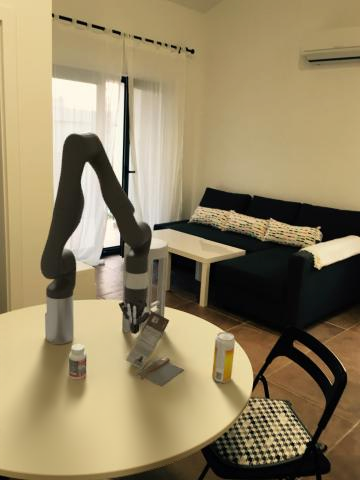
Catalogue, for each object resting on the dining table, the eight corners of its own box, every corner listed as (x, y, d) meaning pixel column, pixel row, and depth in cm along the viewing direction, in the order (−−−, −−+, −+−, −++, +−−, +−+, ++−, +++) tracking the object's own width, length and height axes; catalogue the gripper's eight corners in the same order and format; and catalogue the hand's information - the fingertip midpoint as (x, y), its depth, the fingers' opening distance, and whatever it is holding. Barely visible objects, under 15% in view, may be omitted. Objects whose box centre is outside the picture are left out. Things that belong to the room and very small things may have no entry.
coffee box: (133, 347, 155) (153, 310, 150) (149, 356, 155) (169, 319, 150) (125, 360, 146) (146, 322, 141) (142, 370, 146) (164, 332, 141)
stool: (170, 328, 175) (176, 242, 166) (147, 343, 163) (151, 251, 153) (139, 317, 183) (142, 234, 174) (114, 331, 171) (116, 242, 161)
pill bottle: (80, 381, 138) (80, 352, 135) (65, 377, 140) (65, 349, 137) (89, 372, 143) (89, 344, 140) (74, 368, 145) (74, 341, 142)
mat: (136, 374, 143) (136, 373, 143) (159, 359, 153) (159, 358, 153) (161, 386, 138) (161, 385, 138) (183, 370, 148) (183, 369, 147)
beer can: (232, 375, 146) (237, 333, 142) (228, 385, 141) (232, 342, 136) (214, 371, 148) (218, 329, 144) (209, 380, 142) (213, 338, 138)
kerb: (140, 378, 141) (140, 375, 141) (167, 360, 152) (167, 357, 152) (143, 380, 141) (143, 376, 140) (169, 361, 152) (169, 358, 151)
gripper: (112, 281, 145) (112, 330, 149) (144, 292, 138) (142, 343, 142) (128, 275, 151) (127, 323, 155) (159, 285, 144) (157, 334, 148)
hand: (134, 332), depth 149 cm, fingers closed
